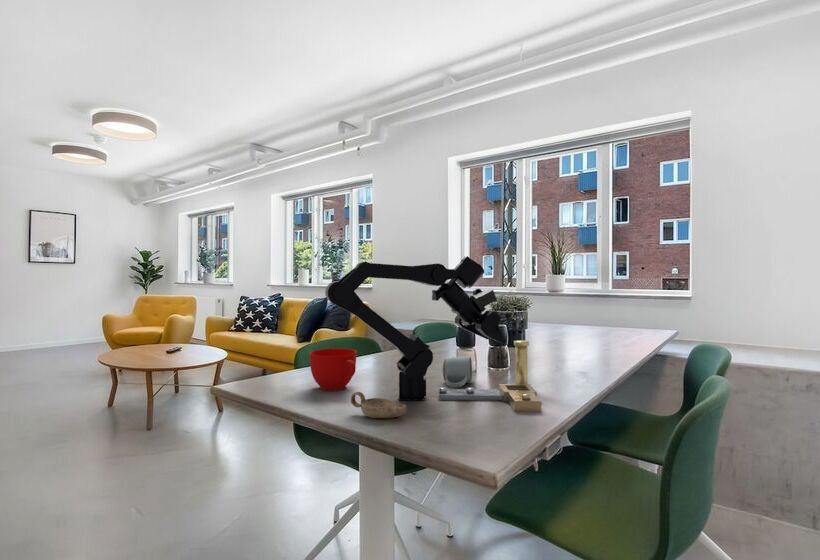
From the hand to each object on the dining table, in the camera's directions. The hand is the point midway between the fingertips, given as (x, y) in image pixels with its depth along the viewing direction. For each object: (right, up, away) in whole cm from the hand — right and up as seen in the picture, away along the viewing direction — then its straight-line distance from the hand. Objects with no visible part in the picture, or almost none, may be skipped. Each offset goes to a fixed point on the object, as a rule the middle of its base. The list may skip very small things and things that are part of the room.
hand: (496, 340), depth 118 cm
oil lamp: (-31, -14, -21) cm, 40 cm away
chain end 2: (+4, -14, -11) cm, 18 cm away
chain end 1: (-4, -14, -6) cm, 16 cm away
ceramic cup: (-44, -14, +2) cm, 46 cm away
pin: (+7, -14, +2) cm, 16 cm away
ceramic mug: (-9, -14, +8) cm, 19 cm away
